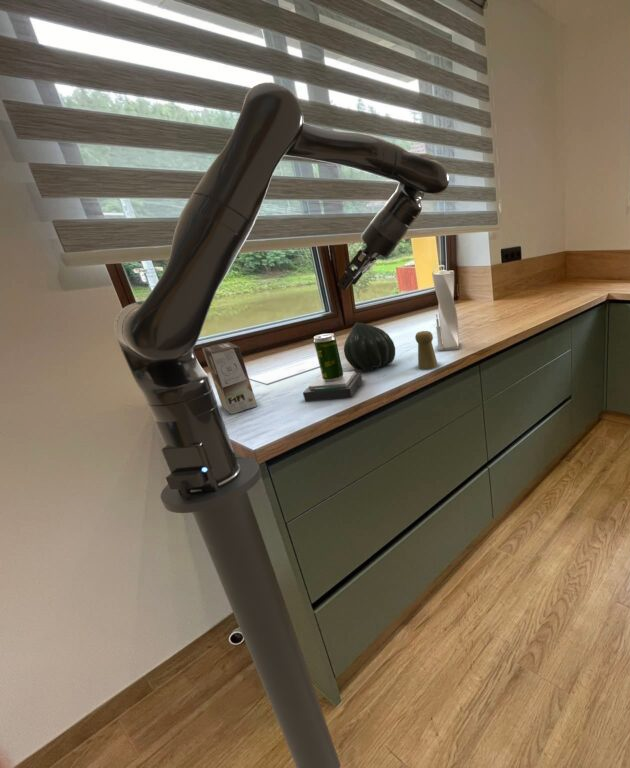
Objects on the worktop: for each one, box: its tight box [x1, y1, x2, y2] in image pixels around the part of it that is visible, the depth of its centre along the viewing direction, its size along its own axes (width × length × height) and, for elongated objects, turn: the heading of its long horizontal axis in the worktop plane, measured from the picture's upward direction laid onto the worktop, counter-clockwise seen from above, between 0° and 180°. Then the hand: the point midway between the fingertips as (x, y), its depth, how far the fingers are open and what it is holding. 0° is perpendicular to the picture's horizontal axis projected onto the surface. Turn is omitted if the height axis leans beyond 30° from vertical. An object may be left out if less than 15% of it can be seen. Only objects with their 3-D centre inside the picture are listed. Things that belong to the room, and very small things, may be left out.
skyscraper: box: [431, 264, 460, 352], centre depth 146 cm, size 8×8×28 cm
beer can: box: [313, 332, 344, 382], centre depth 114 cm, size 5×5×12 cm
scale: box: [302, 371, 363, 402], centre depth 116 cm, size 12×12×4 cm
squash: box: [343, 322, 396, 372], centre depth 133 cm, size 14×15×15 cm
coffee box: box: [201, 341, 258, 415], centre depth 108 cm, size 9×6×16 cm
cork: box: [414, 330, 439, 370], centre depth 130 cm, size 6×6×11 cm
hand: (345, 284), depth 103 cm, fingers open, 8 cm apart
